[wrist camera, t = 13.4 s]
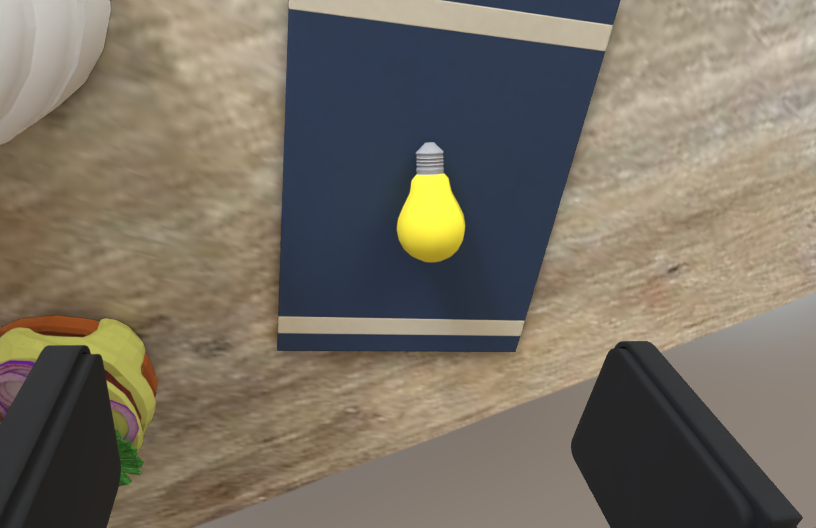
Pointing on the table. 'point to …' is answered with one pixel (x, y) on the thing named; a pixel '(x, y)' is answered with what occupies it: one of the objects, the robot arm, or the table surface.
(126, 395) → the cheeseburger
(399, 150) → the dish cloth
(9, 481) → the robot arm
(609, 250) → the table surface
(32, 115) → the honey pot
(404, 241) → the light bulb
